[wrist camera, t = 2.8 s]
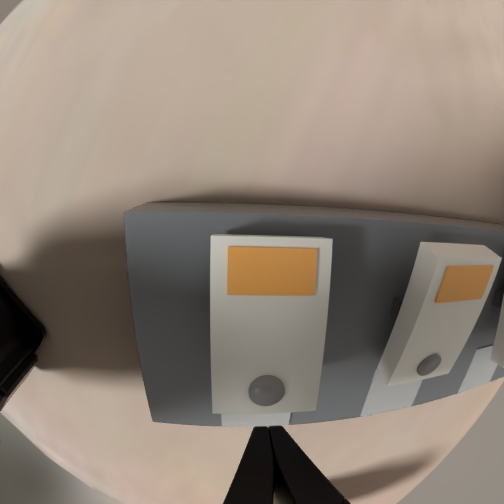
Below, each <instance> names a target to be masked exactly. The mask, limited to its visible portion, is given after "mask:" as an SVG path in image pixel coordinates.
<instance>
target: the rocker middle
mask: <svg viewBox="0 0 504 504" xmlns="http://www.w3.org/2000/svg"><path fill="white" fill-rule="evenodd" d="M501 260H502V258H501V257H500V256H498V255H497V254H496V253H494V252H493V251H492V250H490V249H489V248H487V247H486V246H485V245H473V244H456V243H437V242H420V246H419V250H418V253H417V257H416V261H415V264H414V268H413V271H412V274H411V278H410V281H409V284H408V287H407V290H406V293H405V296H404V299H403V302H402V305H401V308H400V311H399V314H398V316H397V319H396V322H395V325H394V327H393V330H392V333H391V335H390V338H389V340H388V343H387V345H386V348H385V350H384V352H383V355H382V357H381V360H380V362H379V364H378V367H377V368H378V370H379V372H380V374H381V376H382V378H383V380H384V383H385V385H386V387H387V386H393V385H398V384H404V383H409V382H414V381H418V380H423V379H428V378H432V377H436V376H440V375H444V374H448V373H449V372H450V370H451V369H452V367H453V365H454V363H455V362H456V360H457V358H458V356H459V355H460V353H461V351H462V349H463V347H464V345H465V343H466V342H467V340H468V338H469V336H470V334H471V332H472V330H473V328H474V326H475V324H476V321H477V319H478V317H479V315H480V313H481V311H482V308H483V306H484V304H485V301H486V299H487V297H488V294H489V292H490V289H491V287H492V284H493V282H494V279H495V277H496V274H497V271H498V268H499V266H500V263H501Z"/></svg>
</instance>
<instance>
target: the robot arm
mask: <svg viewBox="0 0 504 504" xmlns="http://www.w3.org/2000/svg"><path fill="white" fill-rule="evenodd" d="M38 332H39V333H40V334H39V333H38ZM46 335H47V333H46V330H45V328H44V327H43V326H42V324H41V323H40V322H39V321H38V320H37V319H36V318H35V317H34V316H33V315H32V314H31V313H30V311H29V310H28V309H27V308H26V307H25V306H24V305H23V304H22V302H21V301H20V300H19V299H18V298H17V297H16V295H15V294H14V293H13V292H12V291H11V289H10V288H9V287H8V286H7V284H6V283H5V282H4V281H3V279H2V278H1V277H0V411H1V410H2V409H3V407H4V406H5V405H6V403H7V402H8V401H9V399H10V398H11V397H12V395H13V394H14V393H15V392H16V390H17V389H18V388H19V386H20V385H21V384H22V383H23V381H24V380H25V379H26V378H27V376H28V375H29V373H30V372H31V370H32V369H33V367H34V366H35V364H36V363H37V361H38V356H37V355H36V354H35V353H36V351H37V349H38V348H39V346H40V345H41V343H42V342H43V340H44V339H45V338H46ZM223 504H350V502H349V501H348V500H347V499H344V496H343V495H342V494H341V493H340V492H339V491H338V490H337V489H336V488H335V487H334V486H333V484H332V483H331V482H330V481H329V480H328V479H327V478H326V477H325V476H324V475H323V473H322V472H321V471H320V470H319V469H318V468H317V467H316V466H315V464H314V463H313V462H312V461H311V460H310V459H309V457H308V456H307V455H306V454H305V453H304V452H303V450H302V449H301V448H300V447H299V446H298V445H297V443H296V442H295V441H294V440H293V439H292V437H291V436H290V435H289V434H288V432H287V431H286V430H285V429H284V428H283V427H282V426H280V425H277V426H269V427H267V426H255V427H254V428H253V431H252V433H251V436H250V439H249V441H248V444H247V446H246V449H245V451H244V454H243V456H242V459H241V461H240V464H239V466H238V469H237V471H236V474H235V476H234V479H233V481H232V483H231V486H230V488H229V491H228V493H227V495H226V498H225V500H224V502H223Z"/></svg>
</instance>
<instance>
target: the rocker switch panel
mask: <svg viewBox="0 0 504 504" xmlns="http://www.w3.org/2000/svg"><path fill="white" fill-rule="evenodd" d="M124 226H125V244H126V258H127V271H128V281H129V291H130V300H131V308H132V315H133V323H134V330H135V336H136V342H137V348H138V354H139V360H140V365H141V371H142V376H143V381H144V386H145V390H146V395H147V399H148V404H149V408H150V412H151V416H152V420H153V422H161V423H172V424H184V425H200V426H222V427H255V426H277V425H280V426H281V425H294V424H306V423H317V422H326V421H334V420H341V419H348V418H355V417H362V416H368V415H373V414H379V413H384V412H389V411H394V410H398V409H403V408H407V407H411V406H415V405H419V404H422V403H426V402H430V401H434V400H437V399H441V398H444V397H447V396H451V395H454V394H457V393H460V392H463V391H466V390H469V389H472V388H475V387H478V386H481V385H483V384H486V383H489V382H491V381H493V380H496V379H499V378H501V377H503V376H504V368H503V367H501V366H500V365H498V364H496V363H494V362H493V361H491V360H490V357H491V353H492V349H493V345H494V341H495V337H496V332H497V328H498V323H499V318H500V313H501V307H502V302H503V295H504V225H501V224H494V223H487V222H479V221H472V220H464V219H455V218H447V217H438V216H428V215H419V214H408V213H398V212H386V211H374V210H362V209H348V208H333V207H316V206H297V205H275V204H246V203H194V202H149V203H145V204H142V205H140V206H137V207H135V208H133V209H130V210H128V211H126V212H124ZM213 234H232V235H272V236H305V237H324V238H330V239H333V241H332V261H331V277H330V291H329V304H328V315H327V326H326V336H325V345H324V354H323V362H322V370H321V378H320V385H319V392H318V399H317V406H316V411H304V412H290V413H270V414H213V413H212V386H211V345H210V248H211V235H213ZM420 242H437V243H456V244H473V245H485V246H486V247H487V248H489V249H490V250H492V251H493V252H494V253H496V254H497V255H498V256H500V257H501V258H502V260H501V263H500V266H499V268H498V271H497V274H496V277H495V279H494V282H493V284H492V287H491V289H490V292H489V294H488V297H487V299H486V301H485V304H484V306H483V308H482V311H481V313H480V315H479V317H478V319H477V321H476V324H475V326H474V328H473V330H472V332H471V334H470V336H469V338H468V340H467V342H466V343H465V345H464V347H463V349H462V351H461V353H460V355H459V356H458V358H457V360H456V362H455V363H454V365H453V367H452V369H451V370H450V372H449V373H448V374H444V375H440V376H436V377H432V378H428V379H423V380H418V381H414V382H409V383H404V384H398V385H393V386H387V387H386V385H385V383H384V380H383V378H382V376H381V374H380V372H379V370H378V368H377V367H378V364H379V362H380V360H381V357H382V355H383V352H384V350H385V348H386V345H387V343H388V340H389V338H390V335H391V333H392V330H393V327H394V325H395V322H396V319H397V316H398V314H399V311H400V308H401V305H402V302H403V299H404V296H405V293H406V290H407V287H408V284H409V281H410V278H411V274H412V271H413V268H414V264H415V261H416V257H417V253H418V250H419V246H420Z"/></svg>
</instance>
